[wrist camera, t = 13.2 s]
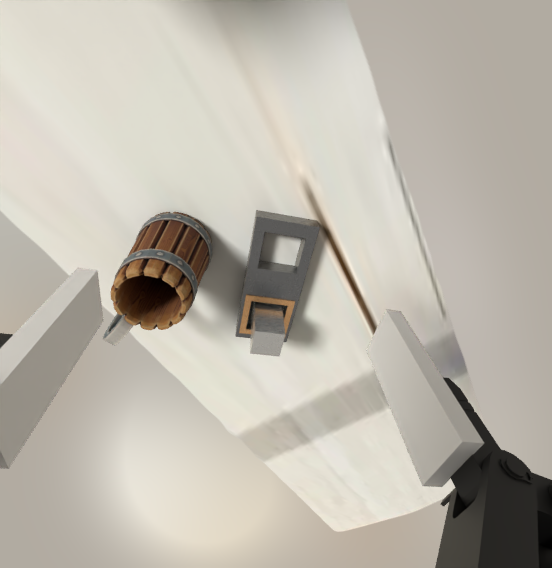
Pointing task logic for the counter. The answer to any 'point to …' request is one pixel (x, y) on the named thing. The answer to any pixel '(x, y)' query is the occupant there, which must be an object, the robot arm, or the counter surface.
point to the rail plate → (276, 269)
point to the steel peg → (267, 329)
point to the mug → (159, 275)
